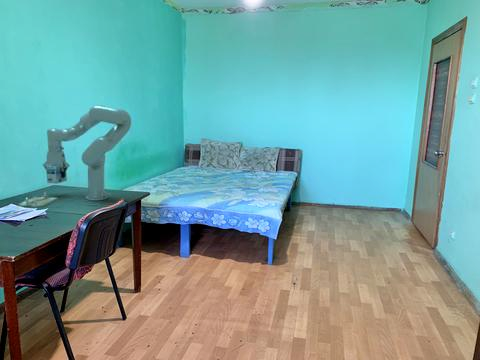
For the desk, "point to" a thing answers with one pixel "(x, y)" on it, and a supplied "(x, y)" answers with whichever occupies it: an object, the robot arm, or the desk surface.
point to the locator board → (41, 202)
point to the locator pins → (35, 199)
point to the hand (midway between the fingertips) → (57, 177)
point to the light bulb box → (55, 174)
